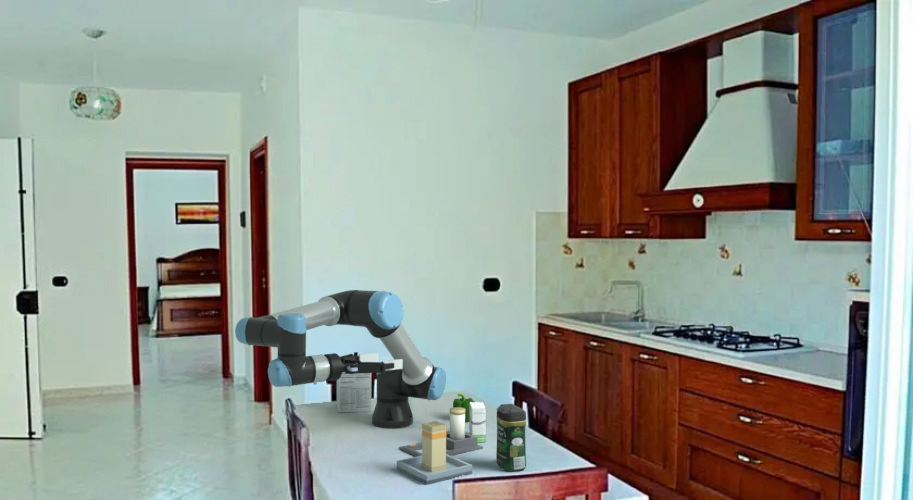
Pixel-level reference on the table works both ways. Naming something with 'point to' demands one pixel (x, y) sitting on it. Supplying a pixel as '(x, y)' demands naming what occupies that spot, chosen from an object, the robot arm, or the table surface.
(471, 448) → the holder block
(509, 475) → the table surface
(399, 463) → the tray
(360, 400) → the supplement box
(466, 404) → the bell pepper
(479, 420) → the ink box
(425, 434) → the beige tall box
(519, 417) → the coffee jar
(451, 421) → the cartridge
